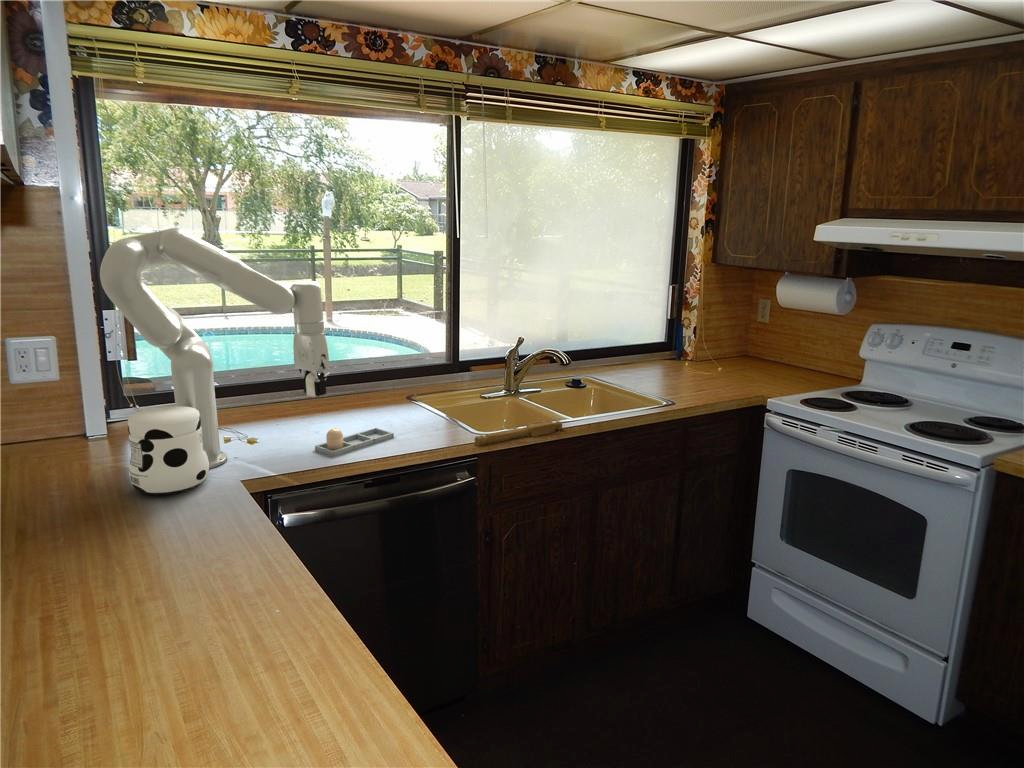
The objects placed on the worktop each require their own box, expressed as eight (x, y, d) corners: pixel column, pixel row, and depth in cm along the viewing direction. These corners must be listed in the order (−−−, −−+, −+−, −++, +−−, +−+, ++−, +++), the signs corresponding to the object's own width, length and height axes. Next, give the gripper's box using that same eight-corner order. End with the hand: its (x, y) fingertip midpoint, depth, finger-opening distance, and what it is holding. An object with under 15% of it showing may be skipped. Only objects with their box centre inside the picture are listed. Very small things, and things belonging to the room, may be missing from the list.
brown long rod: (473, 434, 206) (558, 418, 222) (474, 445, 207) (558, 428, 223) (479, 437, 204) (564, 421, 220) (479, 448, 205) (564, 431, 221)
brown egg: (333, 454, 194) (332, 432, 193) (323, 450, 197) (322, 428, 195) (346, 450, 197) (345, 428, 196) (336, 446, 200) (335, 425, 199)
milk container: (221, 473, 182) (214, 404, 178) (194, 501, 166) (186, 426, 161) (151, 473, 182) (143, 404, 177) (117, 501, 165) (107, 426, 161)
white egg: (313, 397, 195) (311, 374, 193) (303, 394, 198) (301, 372, 196) (326, 393, 198) (324, 371, 197) (316, 391, 201) (315, 369, 199)
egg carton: (332, 461, 191) (331, 453, 191) (311, 454, 197) (311, 446, 196) (397, 440, 209) (397, 432, 208) (376, 434, 214) (376, 426, 214)
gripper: (278, 326, 195) (285, 391, 200) (317, 333, 185) (322, 401, 190) (302, 322, 201) (307, 385, 206) (340, 329, 191) (345, 395, 196)
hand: (315, 392), depth 198 cm, fingers closed on white egg, 4 cm apart
